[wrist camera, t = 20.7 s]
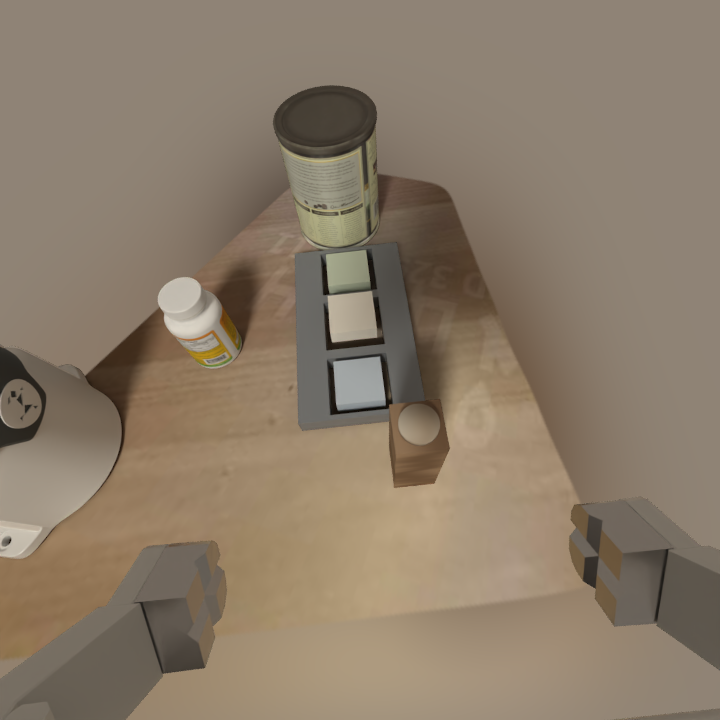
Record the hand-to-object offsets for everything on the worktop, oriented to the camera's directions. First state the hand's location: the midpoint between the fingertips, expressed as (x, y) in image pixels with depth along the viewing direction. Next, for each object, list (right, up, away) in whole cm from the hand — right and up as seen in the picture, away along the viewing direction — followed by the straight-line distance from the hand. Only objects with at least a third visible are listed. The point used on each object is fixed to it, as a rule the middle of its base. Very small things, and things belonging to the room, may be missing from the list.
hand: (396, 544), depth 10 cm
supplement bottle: (-16, +5, +36) cm, 40 cm away
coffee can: (-3, +22, +44) cm, 49 cm away
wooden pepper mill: (+4, -5, +29) cm, 29 cm away
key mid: (-2, +8, +34) cm, 35 cm away
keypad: (-1, +7, +36) cm, 37 cm away
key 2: (-2, +14, +38) cm, 41 cm away
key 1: (-1, +2, +32) cm, 32 cm away
